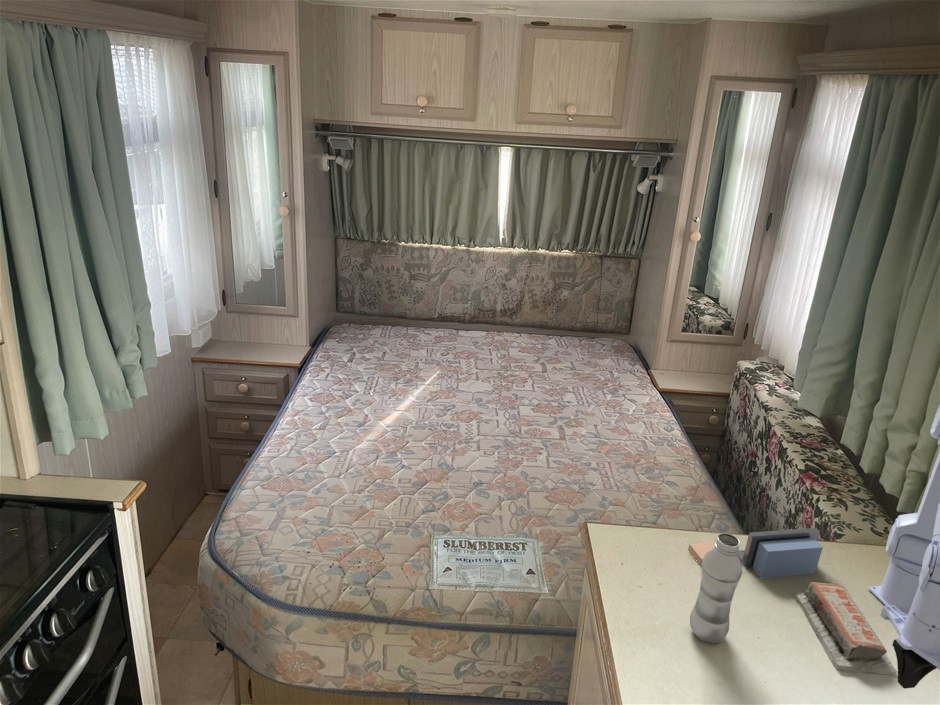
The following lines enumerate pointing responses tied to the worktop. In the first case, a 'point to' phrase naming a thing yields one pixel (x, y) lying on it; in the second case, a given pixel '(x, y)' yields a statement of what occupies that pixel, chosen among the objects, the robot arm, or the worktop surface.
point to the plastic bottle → (717, 589)
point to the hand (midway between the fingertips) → (906, 684)
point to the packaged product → (843, 630)
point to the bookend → (755, 537)
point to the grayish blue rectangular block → (787, 557)
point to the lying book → (700, 550)
